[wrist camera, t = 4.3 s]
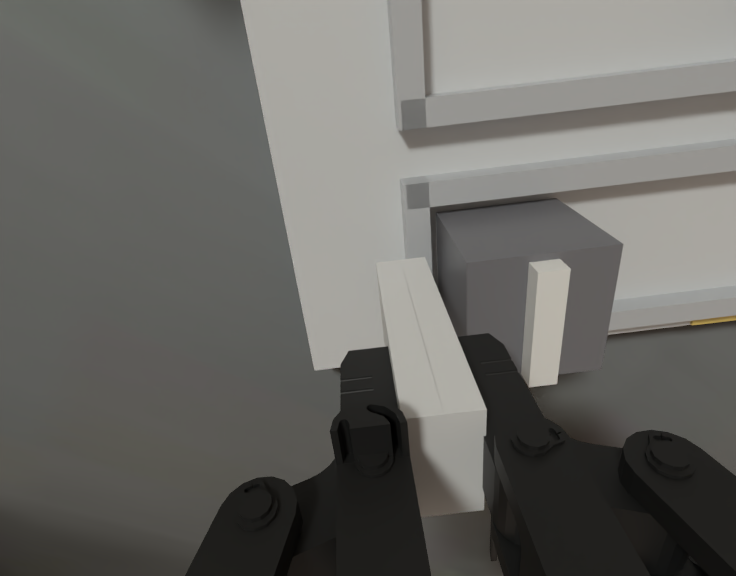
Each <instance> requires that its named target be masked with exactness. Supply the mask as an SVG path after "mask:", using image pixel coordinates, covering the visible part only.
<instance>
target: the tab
mask: <svg viewBox="0 0 736 576" xmlns="http://www.w3.org/2000/svg"><path fill="white" fill-rule="evenodd" d="M436 228H437V257H438V286H439V293H440V295H441V298H442V300H443V303H444V305H445V308H446V310H447V313H448V315H449V318H450V320H451V323H452V325H453V327H454V330H455V332H456V335H457V337H460V336H468V335H477V334H485V333H489V334H491V335H492V336H493V337H495V338H496V339H497V340H499V341H500V342H501V343H503V344H504V346H505V348H506V350H507V351H508V353H509V355H510V357H511V360H512V361H513V362H514V364H515V366H516V368H517V369H518V373H520V375H521V377H522V379H524V380H525V382H526V383H527V385H528V387H536V386H545V385H553V384H557V380H558V375H559V374H568V373H576V372H584V371H592V370H600V369H602V364H603V358H604V353H605V347H606V341H607V335H608V330H609V324H610V318H611V313H612V307H613V301H614V296H615V290H616V284H617V279H618V273H619V267H620V262H621V256H622V250H623V245H624V244H623V243H621V242H620V241H618V240H617V239H615V238H614V237H613V236H611V235H610V234H608V233H607V232H605V231H604V230H602V229H601V228H599V227H598V226H596V225H595V224H594V223H592V222H591V221H589V220H588V219H586V218H585V217H583V216H582V215H580V214H579V213H577V212H576V211H575V210H573V209H572V208H570V207H569V206H567V205H566V204H564V203H563V202H561V201H560V200H558V199H557V198H551V199H542V200H534V201H526V202H517V203H509V204H501V205H492V206H484V207H476V208H467V209H459V210H451V211H442V212H436Z"/></svg>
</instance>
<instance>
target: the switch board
mask: <svg viewBox="0 0 736 576" xmlns="http://www.w3.org/2000/svg"><path fill="white" fill-rule="evenodd" d="M240 1H241V6H242V11H243V16H244V21H245V26H246V31H247V36H248V41H249V46H250V51H251V56H252V61H253V66H254V71H255V76H256V81H257V86H258V91H259V96H260V101H261V106H262V111H263V116H264V121H265V126H266V131H267V136H268V141H269V146H270V151H271V156H272V161H273V166H274V171H275V176H276V181H277V186H278V191H279V196H280V201H281V206H282V211H283V216H284V221H285V226H286V231H287V236H288V241H289V246H290V251H291V256H292V261H293V266H294V271H295V276H296V280H297V285H298V290H299V295H300V300H301V305H302V310H303V315H304V320H305V325H306V330H307V335H308V340H309V345H310V350H311V355H312V360H313V365H314V370H322V369H331V368H339V367H340V365H341V363H342V361H343V360H344V358H345V356H346V355H347V353H348V351H352V350H360V349H369V348H377V347H385V343H384V337H383V327H382V318H381V308H380V299H379V289H378V279H377V270H376V263H377V262H386V261H394V260H403V259H411V258H420V257H425V258H426V261H427V263H428V266H429V268H430V271H431V273H432V276H433V278H434V281H435V283H436V286H437V288H438V291H439V286H438V257H437V228H436V212H442V211H451V210H459V209H467V208H476V207H484V206H492V205H501V204H509V203H517V202H526V201H534V200H542V199H551V198H557V199H558V200H560V201H561V202H563V203H564V204H566V205H567V206H569V207H570V208H572V209H573V210H575V211H576V212H577V213H579V214H580V215H582V216H583V217H585V218H586V219H588V220H589V221H591V222H592V223H594V224H595V225H596V226H598V227H599V228H601V229H602V230H604V231H605V232H607V233H608V234H610V235H611V236H613V237H614V238H615V239H617V240H618V241H620V242H621V243H623V244H624V245H623V250H622V256H621V262H620V267H619V273H618V279H617V284H616V290H615V296H614V301H613V307H612V313H611V318H610V324H609V330H608V335H611V334H619V333H627V332H635V331H643V330H652V329H660V328H668V327H676V326H685V325H700V324H708V323H716V322H725V321H733V320H736V0H240Z"/></svg>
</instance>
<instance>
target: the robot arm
mask: <svg viewBox="0 0 736 576" xmlns="http://www.w3.org/2000/svg"><path fill="white" fill-rule="evenodd" d="M376 270H377V279H378V289H379V299H380V308H381V318H382V327H383V337H384V343H385V347H377V348H369V349H360V350H352V351H348V353H347V355H346V356H345V358H344V360H343V361H342V363H341V365H340V370H341V411H340V412H339V414H338V415H337V416H336V417H335V418H334V420H333V422H332V426H331V429H330V434H331V439H332V444H333V449H334V454H335V459H334V460H333V462H332V463H331V464H330V465H329V466H328V467H327V468H326V469H325V470H324V471H322V472H321V473H319V474H318V475H316V476H314V477H312V478H310V479H308V480H305V481H303V482H300V483H298V484H296V485H293V486H290V485H289V484H288V483H287V482H286V481H285V480H282V479H279V478H275V477H260V478H256V479H253V480H251V481H248V482H246V483H243V484H242V485H240V486H239V487H238V488H237V489H235V490H234V491H233V492H231V493H230V494H229V496H228V497H227V498H226V500H225V501H224V502H223V504H222V505H221V507H220V509H219V511H218V513H217V515H216V516H215V518H214V520H213V522H212V524H211V526H210V528H209V530H208V532H207V534H206V536H205V538H204V540H203V542H202V544H201V546H200V548H199V550H198V552H197V554H196V555H195V557H194V559H193V561H192V563H191V565H190V567H189V569H188V571H187V573H186V575H185V576H431V572H430V566H429V561H428V555H427V549H426V544H425V538H424V532H423V526H422V521H421V517H429V516H437V515H446V514H455V513H463V512H472V511H480V510H484V494H485V498H486V501H487V504H488V507H489V510H490V513H491V534H490V556H491V561H497V555H498V559H499V562H500V565H501V568H502V572H503V575H504V576H736V476H735V475H733V474H732V473H731V472H730V471H728V470H727V469H726V468H725V467H723V466H722V465H721V464H720V463H718V462H717V461H716V460H715V459H713V458H712V457H711V456H710V455H708V454H707V453H706V452H705V451H703V450H702V449H701V448H699V447H698V446H696V445H695V444H693V443H691V442H690V441H688V440H687V439H685V438H682V437H679V436H677V435H674V434H671V433H668V432H662V431H655V430H647V431H641V432H636V433H634V434H633V435H631V436H630V437H628V438H627V439H626V441H625V444H624V446H623V448H616V447H609V446H602V445H595V444H589V443H585V442H580V441H577V440H574V439H572V438H570V437H569V436H568V435H567V434H566V433H565V431H564V430H563V429H562V428H561V427H560V426H558V425H556V424H555V423H553V422H551V421H550V420H548V419H545V418H544V416H543V415H542V413H541V411H540V409H539V408H538V406H537V404H536V402H535V400H534V398H533V397H532V395H531V393H530V391H529V389H528V388H527V386H526V384H525V382H524V380H523V379H522V377H521V375H520V373H518V369H517V368H516V366H515V364H514V362H513V361H512V360H511V357H510V355H509V353H508V351H507V350H506V348H505V346H504V344H503V343H501V342H500V341H499V340H497V339H496V338H495V337H493V336H492V335H491V334H489V333H485V334H477V335H468V336H460V337H457V335H456V332H455V330H454V327H453V325H452V323H451V320H450V318H449V315H448V313H447V310H446V308H445V305H444V303H443V300H442V298H441V295H440V293H439V291H438V288H437V286H436V283H435V281H434V278H433V276H432V273H431V271H430V268H429V266H428V263H427V261H426V258H425V257H420V258H411V259H403V260H394V261H386V262H377V263H376Z"/></svg>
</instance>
